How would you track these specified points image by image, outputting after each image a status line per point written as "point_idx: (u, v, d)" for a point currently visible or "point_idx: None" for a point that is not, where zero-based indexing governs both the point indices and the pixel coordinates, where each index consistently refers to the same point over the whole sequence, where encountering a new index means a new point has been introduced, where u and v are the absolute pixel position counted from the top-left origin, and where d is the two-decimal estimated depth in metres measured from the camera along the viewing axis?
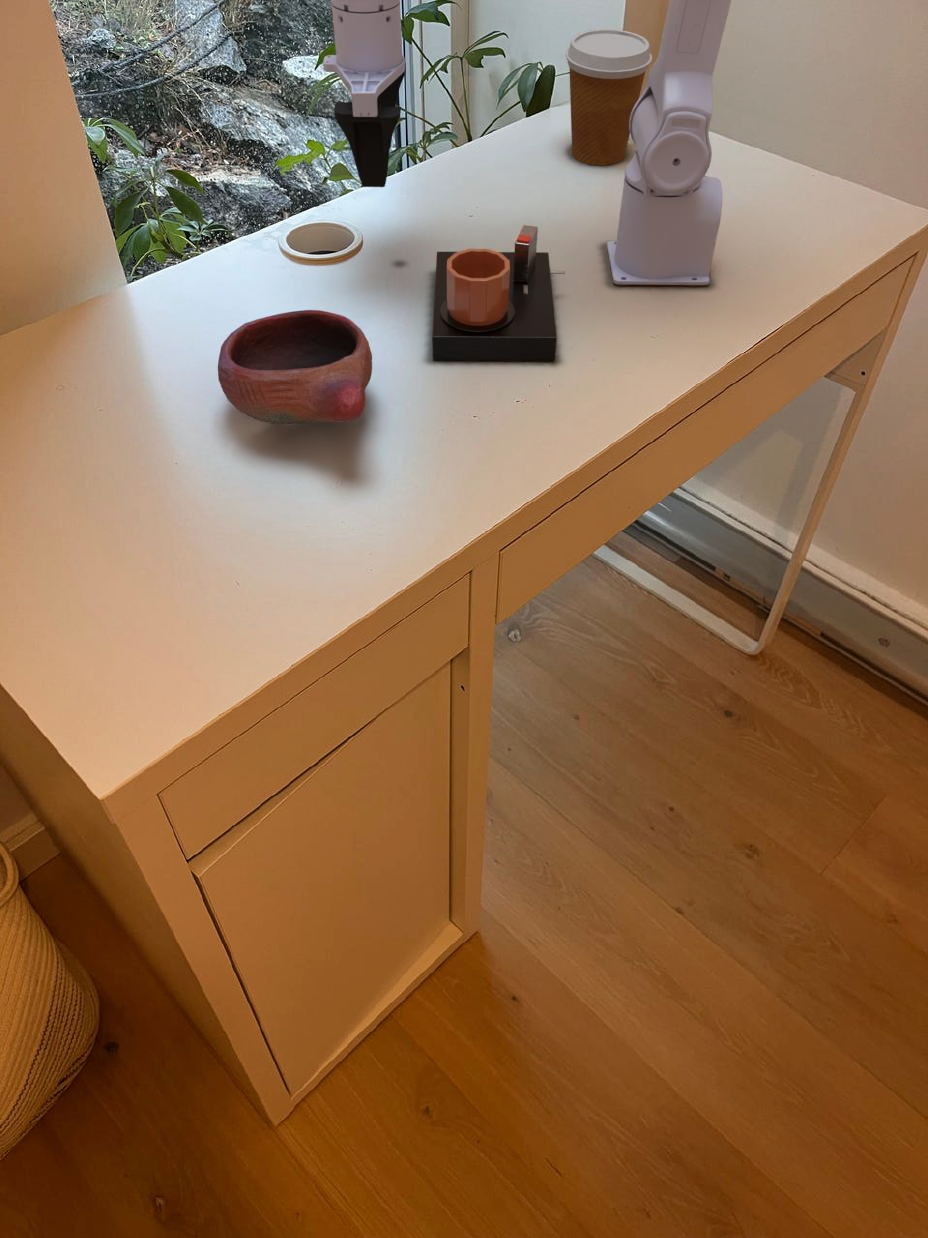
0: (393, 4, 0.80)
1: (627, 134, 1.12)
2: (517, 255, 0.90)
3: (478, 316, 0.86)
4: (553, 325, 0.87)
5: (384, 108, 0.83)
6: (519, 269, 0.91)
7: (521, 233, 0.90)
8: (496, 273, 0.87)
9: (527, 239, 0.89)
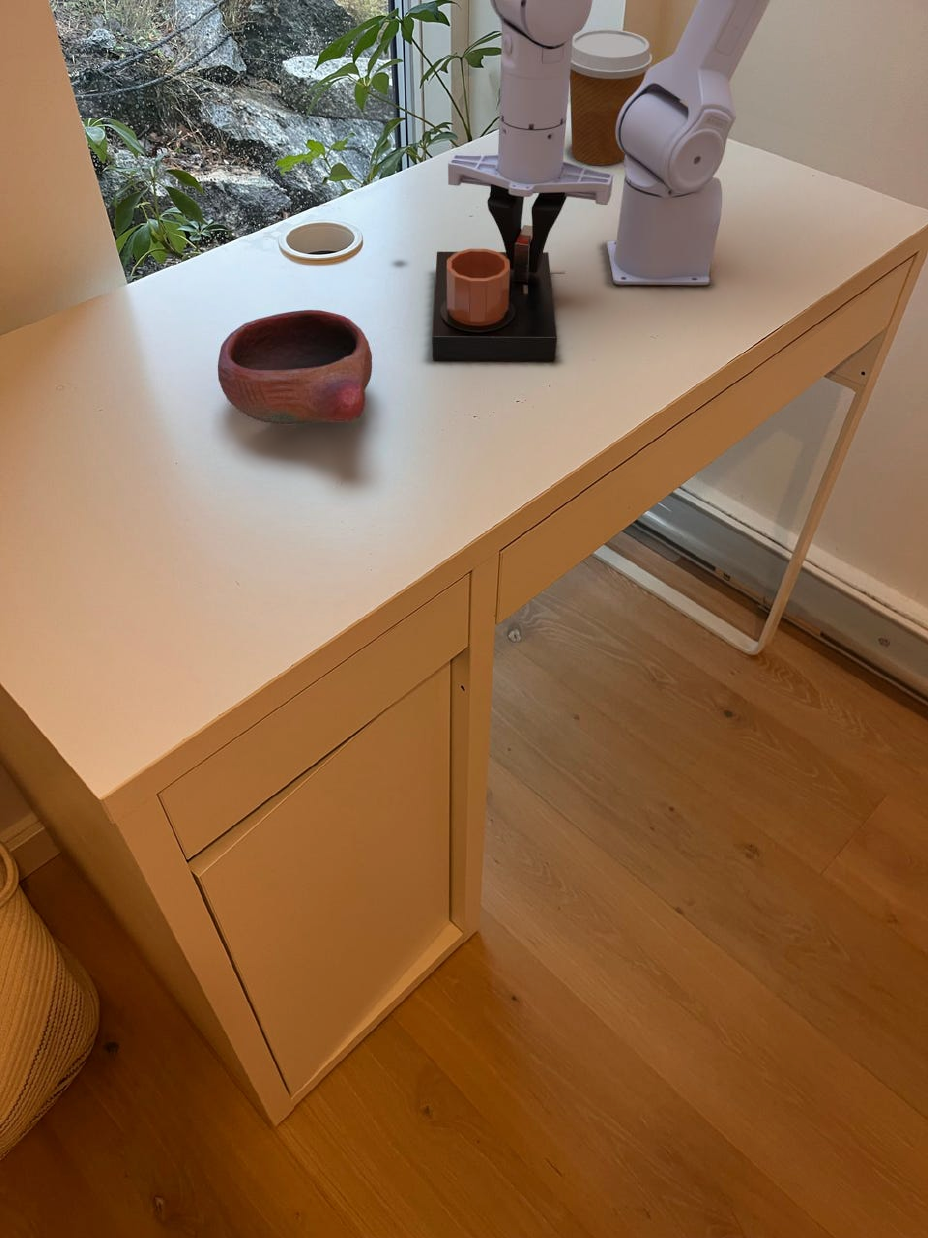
0: (566, 115, 0.82)
1: None
2: (517, 255, 0.90)
3: (478, 316, 0.86)
4: (553, 325, 0.87)
5: None
6: (519, 269, 0.91)
7: (521, 233, 0.90)
8: (496, 273, 0.87)
9: (527, 239, 0.89)
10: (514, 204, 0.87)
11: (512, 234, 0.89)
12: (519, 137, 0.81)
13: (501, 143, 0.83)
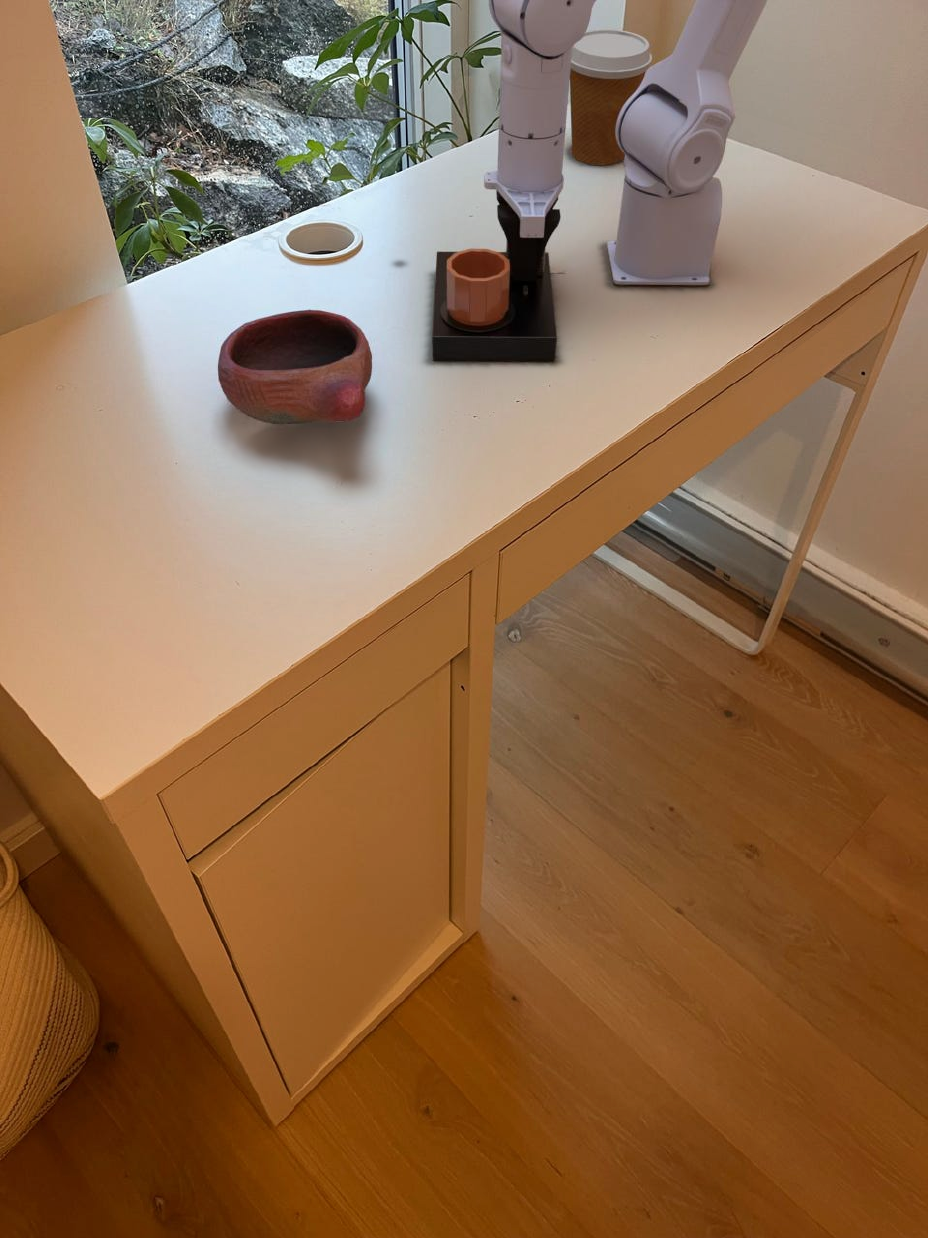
0: (565, 124, 0.82)
1: None
2: (506, 244, 0.91)
3: (478, 316, 0.86)
4: (553, 325, 0.87)
5: None
6: None
7: None
8: (496, 273, 0.87)
9: None
10: None
11: None
12: None
13: None
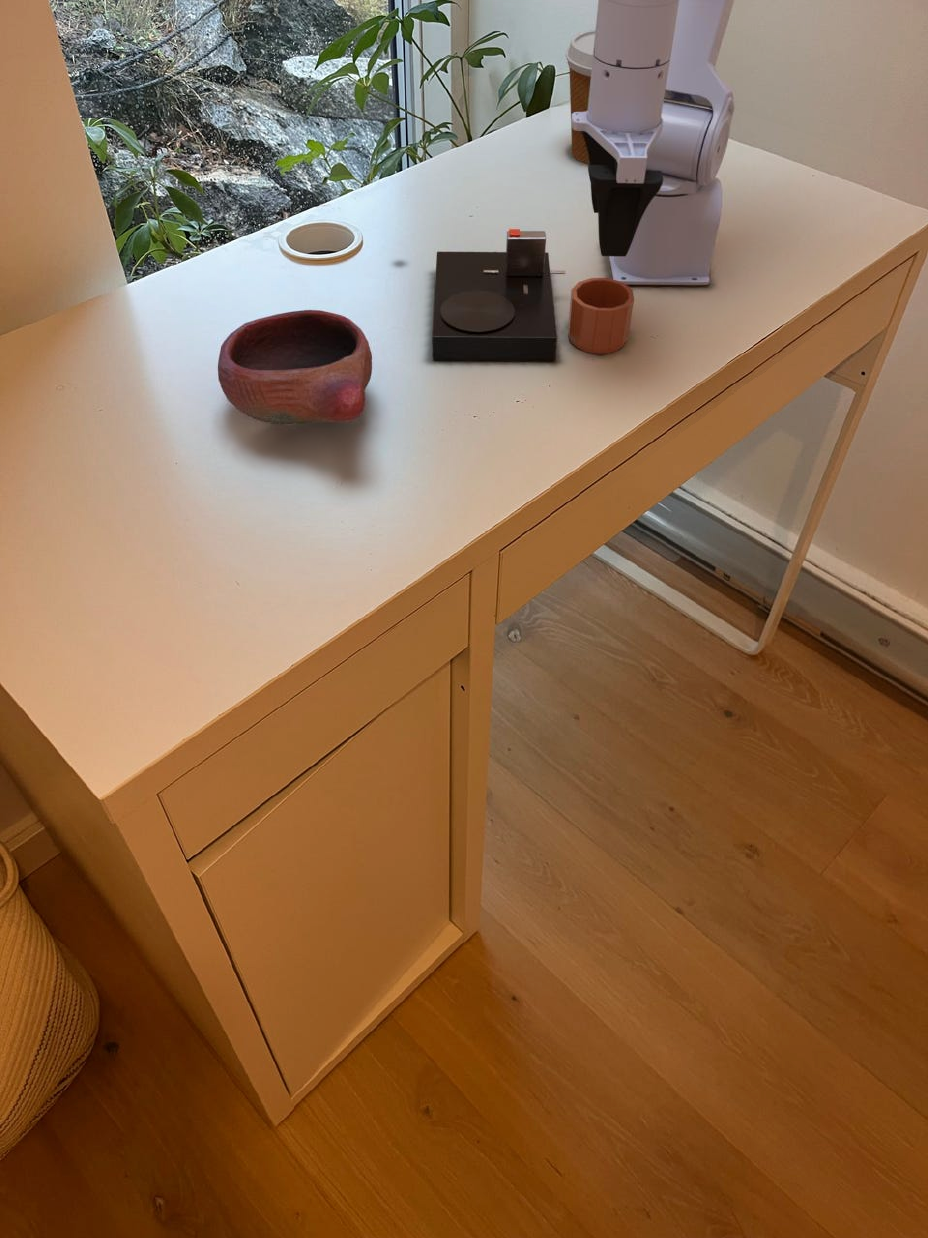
0: None
1: None
2: (506, 244, 0.91)
3: (601, 344, 0.88)
4: (553, 325, 0.87)
5: None
6: None
7: (526, 231, 0.90)
8: (617, 302, 0.89)
9: (511, 233, 0.90)
10: None
11: None
12: (592, 62, 0.73)
13: None
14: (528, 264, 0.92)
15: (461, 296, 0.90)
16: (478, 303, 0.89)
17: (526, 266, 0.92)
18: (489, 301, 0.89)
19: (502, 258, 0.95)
